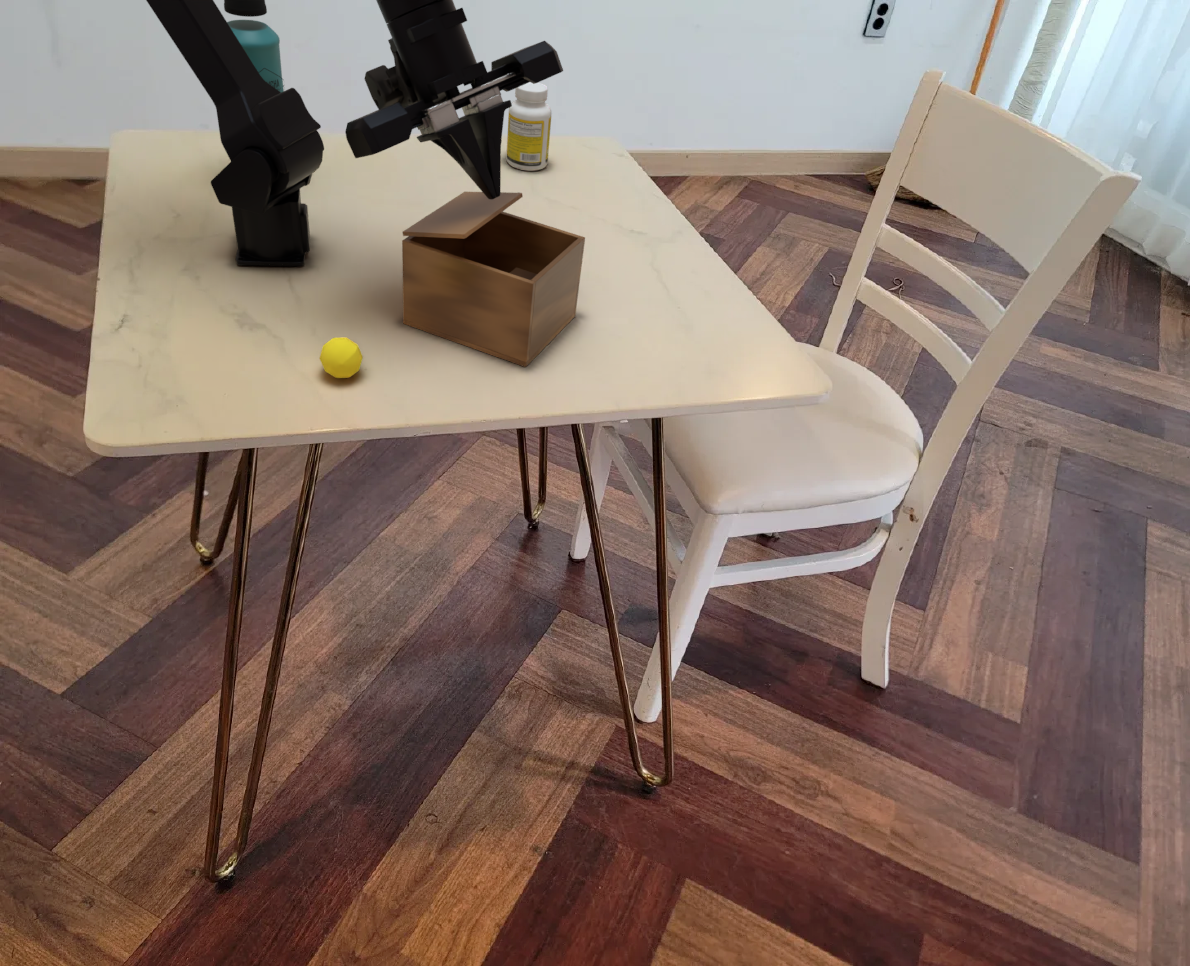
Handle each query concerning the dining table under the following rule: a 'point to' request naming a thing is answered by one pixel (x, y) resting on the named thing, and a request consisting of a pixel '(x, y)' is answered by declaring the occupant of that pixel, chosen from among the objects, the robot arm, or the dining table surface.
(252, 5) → the beverage bottle
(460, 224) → the flap
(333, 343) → the yellow lemon
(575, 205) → the dining table surface
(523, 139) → the supplement bottle
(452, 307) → the brown wooden open box
